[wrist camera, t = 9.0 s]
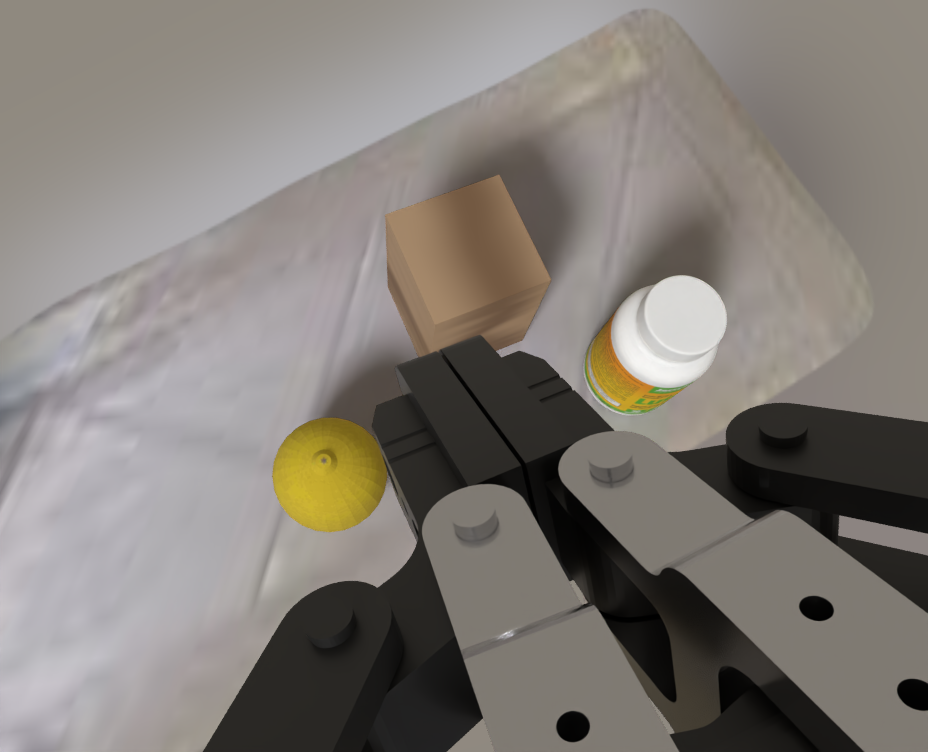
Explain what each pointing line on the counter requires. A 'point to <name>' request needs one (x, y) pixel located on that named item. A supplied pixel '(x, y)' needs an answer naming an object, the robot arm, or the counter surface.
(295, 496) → the lemon
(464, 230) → the brown wooden block
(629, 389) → the supplement bottle
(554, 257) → the counter surface
